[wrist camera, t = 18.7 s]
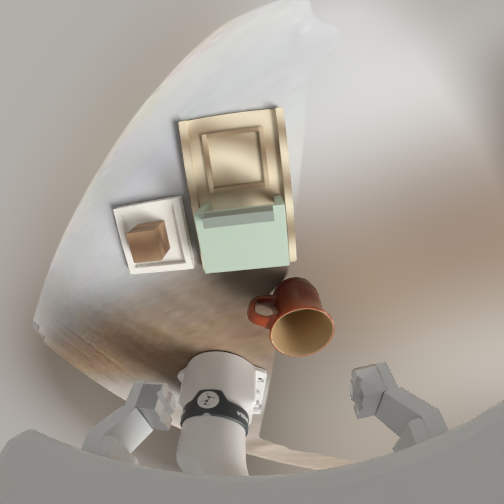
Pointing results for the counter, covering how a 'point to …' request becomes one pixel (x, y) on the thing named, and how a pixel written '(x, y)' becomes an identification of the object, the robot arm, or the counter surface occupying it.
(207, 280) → the counter surface
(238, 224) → the green stool
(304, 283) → the mug
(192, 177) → the board
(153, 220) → the dish
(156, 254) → the block
